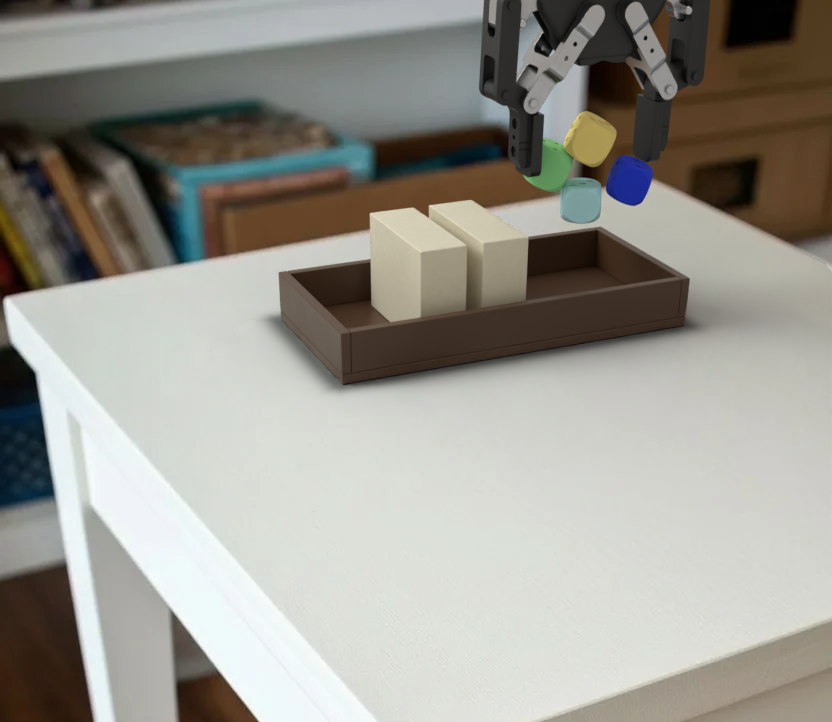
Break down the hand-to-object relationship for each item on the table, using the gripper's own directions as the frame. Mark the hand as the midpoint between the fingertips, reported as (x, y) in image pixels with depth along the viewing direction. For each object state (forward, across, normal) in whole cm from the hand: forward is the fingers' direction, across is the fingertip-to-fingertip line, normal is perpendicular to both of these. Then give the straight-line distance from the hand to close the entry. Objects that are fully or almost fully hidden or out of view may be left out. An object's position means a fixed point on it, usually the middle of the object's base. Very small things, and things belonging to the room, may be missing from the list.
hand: (587, 166), depth 86 cm
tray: (+9, +7, 0) cm, 11 cm away
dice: (+3, 0, 0) cm, 3 cm away
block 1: (+8, +12, 0) cm, 14 cm away
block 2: (+8, +8, 0) cm, 11 cm away
